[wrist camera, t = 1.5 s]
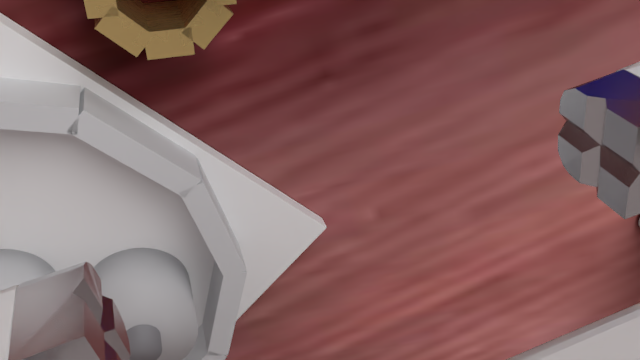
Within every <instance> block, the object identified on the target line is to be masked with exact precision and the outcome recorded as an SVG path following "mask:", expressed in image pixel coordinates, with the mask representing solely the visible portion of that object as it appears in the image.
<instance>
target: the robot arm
mask: <svg viewBox="0 0 640 360" xmlns="http://www.w3.org/2000/svg"><path fill="white" fill-rule="evenodd" d="M559 113H560V114H561V115H562V116H563V117H564V119H565V120H566V123H565V124H564V126H563V128H562V129H561V131H560V133H559V134H558V152H559V155H560V158H561V161H562V163H563V166H564V167H565V168H566V170H567V171H568V173H569V174H570V175H571V176H572V177H573V178H575V179H576V180H577V181H578V182H579V183H582V184H586V185H590V186H594V187H596V189H597V197H598V198H599V199H600V200H601V201H603V202H604V203H605V204H606V205H608V206H609V207H610V208H611V209H613V210H614V211H615V212H616V213H618V214H619V215H620V216H621V217H623V218H624V219H627V218H629V217H632V216H635V215H638V214H640V62H638V63H635V64H632V65H630V66H627V67H625V68H622V69H620V70H617V71H616V72H615V73H612V74H609V75H606V76H604V77H601V78H598V79H595V80H593V81H590V82H587V83H584V84H582V85H579V86H576V87H573V88H571V89H568V90H565V91H564V93H563V95H562V97H561V99H560V111H559ZM639 227H640V219H639ZM130 356H131V354H130V346H129V339H128V336H127V332H126V328H125V324H124V322H123V319H122V317H121V315H120V312H119V310H118V308H117V307H116V305H115V303H114V301H113V299H110V298H108V297H105V296H103V295H102V287H101V279H100V277H99V276H98V274H97V272H96V271H95V269H94V268H93V266H92V264H90V263H88V262H83V263H80V264H77V265H74V266H71V267H68V268H65V269H62V270H59V271H56V272H53V273H50V274H47V275H44V276H41V277H38V278H35V279H32V280H29V281H26V282H23V283H21V284H20V285H15V286H12V287H9V288H6V289H3V290H1V291H0V360H129V358H130ZM506 360H640V303H638V304H635V305H633V306H631V307H628V308H626V309H624V310H621V311H619V312H617V313H614V314H612V315H610V316H607V317H605V318H602V319H600V320H598V321H595V322H593V323H591V324H588V325H586V326H584V327H581V328H579V329H577V330H574V331H572V332H570V333H567V334H565V335H563V336H560V337H558V338H556V339H553V340H551V341H549V342H546V343H544V344H541V345H539V346H537V347H534V348H532V349H530V350H527V351H525V352H523V353H520V354H518V355H516V356H513V357H511V358H509V359H506Z"/></svg>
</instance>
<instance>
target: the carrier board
mask: <svg viewBox="0 0 640 360" xmlns="http://www.w3.org/2000/svg"><path fill="white" fill-rule="evenodd" d="M326 228H327V227H326V225H325V223H324V221H323V219H322V218H321V217H320V216H318V215H316V214H315V213H313V212H312V211H310V210H309V209H307V208H306V207H304V206H302V205H301V204H299V203H298V202H296V201H295V200H293V199H291V198H290V197H288V196H287V195H285V194H284V193H282V192H280V191H279V190H277V189H276V188H274V187H273V186H271V185H269V184H268V183H266V182H265V181H263V180H262V179H260V178H258V177H257V176H255V175H254V174H252V173H251V172H249V171H247V170H246V169H244V168H243V167H241V166H240V165H238V164H237V163H235V162H233V161H232V160H230V159H229V158H227V157H226V156H224V155H222V154H221V153H219V152H218V151H216V150H215V149H213V148H211V147H210V146H208V145H207V144H205V143H204V142H202V141H200V140H199V139H197V138H196V137H194V136H193V135H191V134H189V133H188V132H186V131H185V130H183V129H182V128H180V127H178V126H177V125H175V124H174V123H172V122H171V121H169V120H168V119H166V118H164V117H163V116H161V115H160V114H158V113H157V112H155V111H153V110H152V109H150V108H149V107H147V106H146V105H144V104H142V103H141V102H139V101H138V100H136V99H135V98H133V97H131V96H130V95H128V94H127V93H125V92H124V91H122V90H120V89H119V88H117V87H116V86H114V85H113V84H111V83H109V82H108V81H106V80H105V79H103V78H102V77H100V76H99V75H97V74H95V73H94V72H92V71H91V70H89V69H88V68H86V67H84V66H83V65H81V64H80V63H78V62H77V61H75V60H73V59H72V58H70V57H69V56H67V55H66V54H64V53H62V52H61V51H59V50H58V49H56V48H55V47H53V46H51V45H50V44H48V43H47V42H45V41H44V40H42V39H40V38H39V37H37V36H36V35H34V34H33V33H31V32H30V31H28V30H26V29H25V28H23V27H22V26H20V25H19V24H17V23H15V22H14V21H12V20H11V19H9V18H8V17H6V16H4V15H3V14H1V13H0V291H1V290H3V289H6V288H9V287H12V286H15V285H20V284H21V283H23V282H26V281H29V280H32V279H35V278H38V277H41V276H44V275H47V274H50V273H53V272H56V271H59V270H62V269H65V268H68V267H71V266H74V265H77V264H80V263H83V262H88V263H90V264H92V266H93V268H94V269H95V271H96V272H97V274H98V276H99V277H100V279H101V287H102V295H103V296H105V297H108V298H110V299H113V301H114V303H115V305H116V307H117V308H118V310H119V312H120V315H121V317H122V319H123V322H124V324H125V328H126V332H127V336H128V339H129V346H130V354H131V356H130V358H129V360H225V359H226V358H227V356H226V355H228V353H229V349H230V345H231V340H232V336H233V331H234V327H235V323H236V320H237V319H238V318H239V317H240V316H241V315H242V314H243V313H244V312H245V311H246V310H247V309H248V308H249V307H250V306H251V305H252V304H253V303H254V302H255V301H256V300H257V299H258V298H259V297H260V296H261V295H262V294H263V293H264V292H265V291H266V290H267V288H268V287H269V286H270V285H271V284H272V283H273V282H274V281H275V280H276V279H277V278H278V277H279V276H280V275H281V274H282V273H283V272H284V271H285V270H286V269H287V268H288V267H289V266H290V265H291V264H292V263H293V262H294V261H295V260H296V259H297V258H298V257H299V256H300V255H301V254H302V252H303V251H304V250H305V249H306V248H307V247H308V246H309V245H310V244H311V243H312V242H313V241H314V240H315V239H316V238H317V237H318V236H319V235H320V234H321V233H322V232H323V231H324V230H325V229H326Z"/></svg>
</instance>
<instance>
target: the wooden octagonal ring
mask: <svg viewBox="0 0 640 360" xmlns="http://www.w3.org/2000/svg"><path fill="white" fill-rule="evenodd" d="M230 4H237V3H236V0H175V1H165V2H155V3H145V4H144V3H142V2H141V1H140V0H84V5H85V9H86V13H87V18H88V19H93V18H95V28H94V29H96V30H97V31H99V32H100V33H102V34H103V35H105V36H106V37H108V38H109V39H110V40H112V41H113V42H115V43H116V44H118V45H119V46H121V47H122V48H124V49H125V50H127V51H128V52H129V53H131V54H132V55H134V56H135V57H137V56H138V55H139V54H140V53H141V51H142V50H143V49H144V48H145V49H146V55H147V60H152V59H161V58H169V57H177V56H186V55H194V54H195V52H194V44H193V42H195V43H196V44H197V45H199V46H200V47H201V48H203V49H205V48H206V46H207V45H208V44H209V43H210V42H211V40H212V39H213V38H214V37H215V36H216V34H217V33H218V32H219V31H220V30H221V28H222V27H223V26H224V25H225V23H226V22H227V21H228V20H229V19H230V17H231V16H232V15H233V12H232V10H231V9H230V7H229V5H230Z"/></svg>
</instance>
